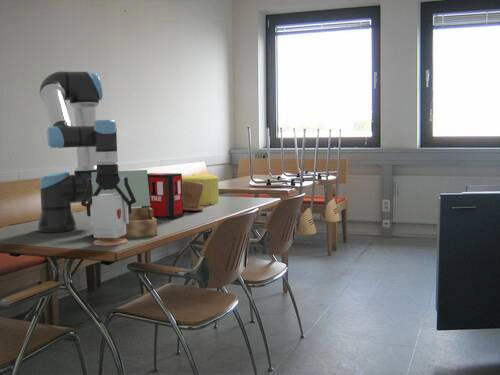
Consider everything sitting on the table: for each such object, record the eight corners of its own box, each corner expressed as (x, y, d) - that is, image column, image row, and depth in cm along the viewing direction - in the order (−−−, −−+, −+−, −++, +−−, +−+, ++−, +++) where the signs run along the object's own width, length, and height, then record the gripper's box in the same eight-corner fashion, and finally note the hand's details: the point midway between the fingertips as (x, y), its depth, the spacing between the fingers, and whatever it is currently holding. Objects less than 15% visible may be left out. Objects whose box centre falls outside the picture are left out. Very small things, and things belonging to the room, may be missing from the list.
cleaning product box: (183, 216, 270) (181, 173, 268) (173, 219, 261) (172, 175, 259) (151, 215, 276) (150, 173, 274) (141, 218, 267) (140, 174, 265)
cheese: (178, 200, 335) (177, 174, 333) (222, 200, 331) (222, 173, 330) (165, 206, 309) (164, 178, 308) (213, 206, 305) (212, 177, 304)
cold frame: (97, 240, 215) (96, 215, 215) (95, 233, 230) (94, 210, 229) (157, 235, 222) (156, 212, 221) (151, 229, 237) (150, 207, 236)
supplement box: (117, 238, 204) (114, 195, 203) (93, 238, 206) (90, 196, 205) (127, 234, 213) (125, 193, 212) (104, 234, 215) (102, 193, 214)
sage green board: (91, 172, 232) (91, 172, 233) (93, 209, 229) (93, 209, 229) (146, 169, 239) (146, 170, 240) (150, 205, 236) (150, 205, 236)
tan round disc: (94, 247, 203) (94, 245, 202) (92, 241, 214) (92, 239, 214) (129, 244, 206) (129, 242, 206) (125, 238, 218) (125, 236, 218)
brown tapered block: (208, 209, 291) (207, 179, 290) (197, 213, 280) (196, 182, 279) (181, 208, 297) (180, 179, 295) (169, 212, 286) (168, 181, 284)
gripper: (72, 165, 200) (75, 228, 202) (142, 162, 207) (144, 223, 210) (71, 164, 207) (74, 225, 209) (139, 161, 215) (141, 220, 217)
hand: (109, 224), depth 209 cm, fingers closed on supplement box, 12 cm apart
